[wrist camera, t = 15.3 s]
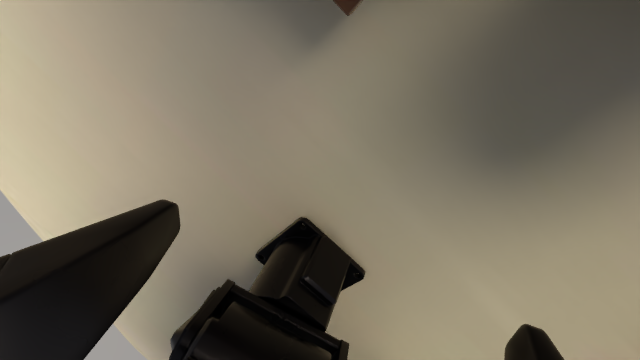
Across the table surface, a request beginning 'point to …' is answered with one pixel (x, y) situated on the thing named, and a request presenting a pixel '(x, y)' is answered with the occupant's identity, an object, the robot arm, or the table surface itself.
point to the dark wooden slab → (348, 5)
